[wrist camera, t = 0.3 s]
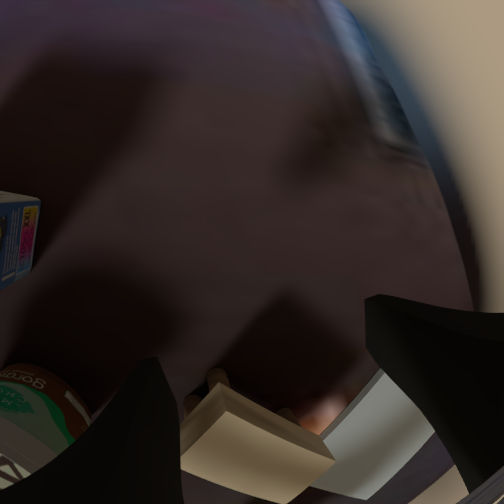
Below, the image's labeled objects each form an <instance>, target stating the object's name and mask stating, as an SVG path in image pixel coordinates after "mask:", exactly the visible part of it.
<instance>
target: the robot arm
mask: <svg viewBox="0 0 504 504" xmlns="http://www.w3.org/2000/svg"><path fill="white" fill-rule="evenodd" d="M365 332H366V348H367V350H368V351H369V353H370V354H371V356H372V357H373V359H374V360H375V361H376V363H377V364H378V365H379V367H380V368H381V369H382V370H383V371H384V372H385V373H386V374H387V375H388V376H389V378H390V379H391V380H392V381H393V382H394V383H395V384H396V385H397V386H398V387H399V388H400V389H401V390H402V391H403V392H404V393H405V394H406V395H407V396H408V397H409V398H410V400H411V401H412V402H413V403H414V404H415V405H416V406H417V407H418V408H419V410H420V411H421V412H422V413H423V415H424V416H425V417H426V419H427V420H428V422H429V423H430V424H431V426H432V427H433V429H434V430H435V432H436V433H437V435H438V436H439V438H440V439H441V441H442V442H443V444H444V446H445V447H446V449H447V451H448V452H449V454H450V456H451V458H452V459H453V461H454V463H455V465H456V466H457V469H458V471H459V473H460V475H461V477H462V478H463V481H464V483H465V485H466V487H467V490H468V492H469V495H467V496H466V497H465V498H463V499H462V500H461V501H459V502H458V503H456V504H493V503H494V502H495V501H497V500H498V499H499V498H500V497H501V496H502V495H503V494H504V313H483V312H471V311H462V310H455V309H450V308H444V307H439V306H434V305H429V304H425V303H420V302H416V301H412V300H407V299H403V298H399V297H394V296H389V295H382V294H378V295H375V296H372V297H369V298H367V299H365ZM0 504H184V500H183V494H182V485H181V454H180V423H179V416H178V409H177V402H176V400H175V398H174V396H173V393H172V391H171V389H170V386H169V384H168V382H167V379H166V377H165V375H164V372H163V370H162V368H161V365H160V363H159V360H158V358H157V357H153V358H148V359H143V360H140V361H139V362H138V363H137V364H136V366H135V367H134V369H133V370H132V371H131V373H130V374H129V376H128V377H127V379H126V380H125V382H124V383H123V384H122V386H121V387H120V389H119V390H118V391H117V393H116V394H115V396H114V397H113V398H112V400H111V401H110V402H109V403H108V405H107V406H106V407H105V408H104V410H103V411H102V412H101V414H100V415H99V416H98V417H97V419H96V420H95V421H94V422H93V423H92V424H91V425H90V426H89V427H88V429H87V430H86V431H85V432H84V433H83V434H82V435H81V436H80V437H79V438H78V439H77V440H75V441H74V442H73V443H72V444H71V445H70V446H69V447H67V448H66V449H65V450H64V451H63V452H61V453H60V454H59V455H58V456H57V457H55V458H54V459H53V460H52V461H50V462H49V463H47V464H46V465H45V466H43V467H42V468H40V469H39V470H37V471H35V472H34V473H32V474H31V475H29V476H27V477H26V478H24V479H22V480H20V481H18V482H16V483H14V484H12V485H10V486H8V487H6V488H4V489H2V490H0ZM497 504H504V497H503V498H502V499H501V500H500V501H499V502H498V503H497Z"/></svg>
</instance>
